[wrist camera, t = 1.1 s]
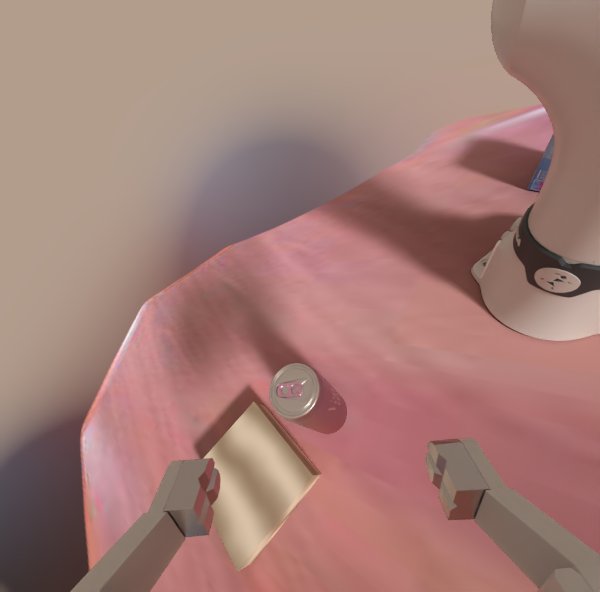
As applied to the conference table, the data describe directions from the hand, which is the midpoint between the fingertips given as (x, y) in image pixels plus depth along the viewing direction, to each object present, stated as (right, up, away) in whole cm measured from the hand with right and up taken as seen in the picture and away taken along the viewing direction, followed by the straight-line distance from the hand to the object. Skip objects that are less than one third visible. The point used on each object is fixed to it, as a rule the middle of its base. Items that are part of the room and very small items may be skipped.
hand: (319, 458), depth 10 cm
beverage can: (+4, -11, +29) cm, 32 cm away
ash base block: (-6, -20, +28) cm, 35 cm away
